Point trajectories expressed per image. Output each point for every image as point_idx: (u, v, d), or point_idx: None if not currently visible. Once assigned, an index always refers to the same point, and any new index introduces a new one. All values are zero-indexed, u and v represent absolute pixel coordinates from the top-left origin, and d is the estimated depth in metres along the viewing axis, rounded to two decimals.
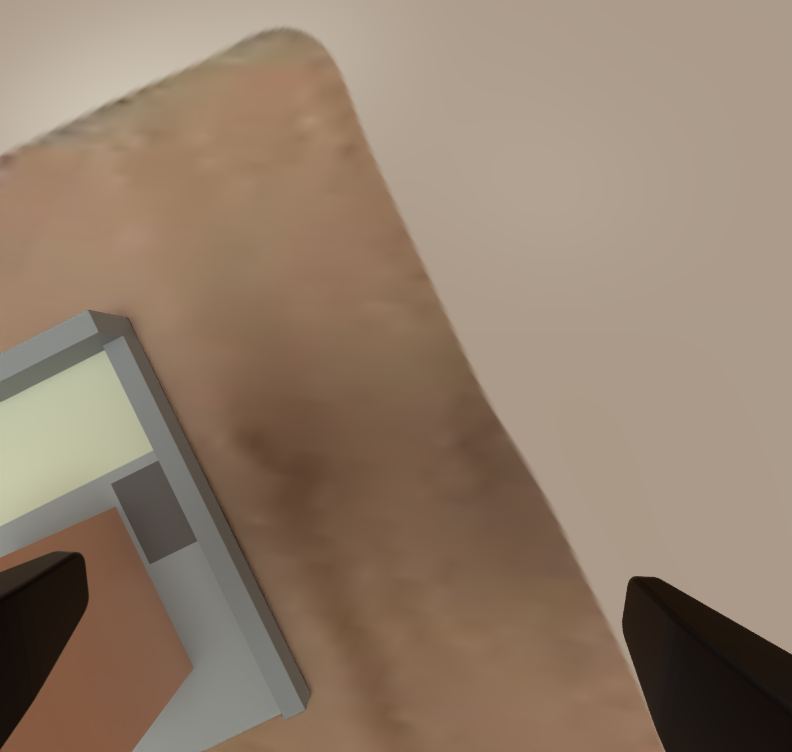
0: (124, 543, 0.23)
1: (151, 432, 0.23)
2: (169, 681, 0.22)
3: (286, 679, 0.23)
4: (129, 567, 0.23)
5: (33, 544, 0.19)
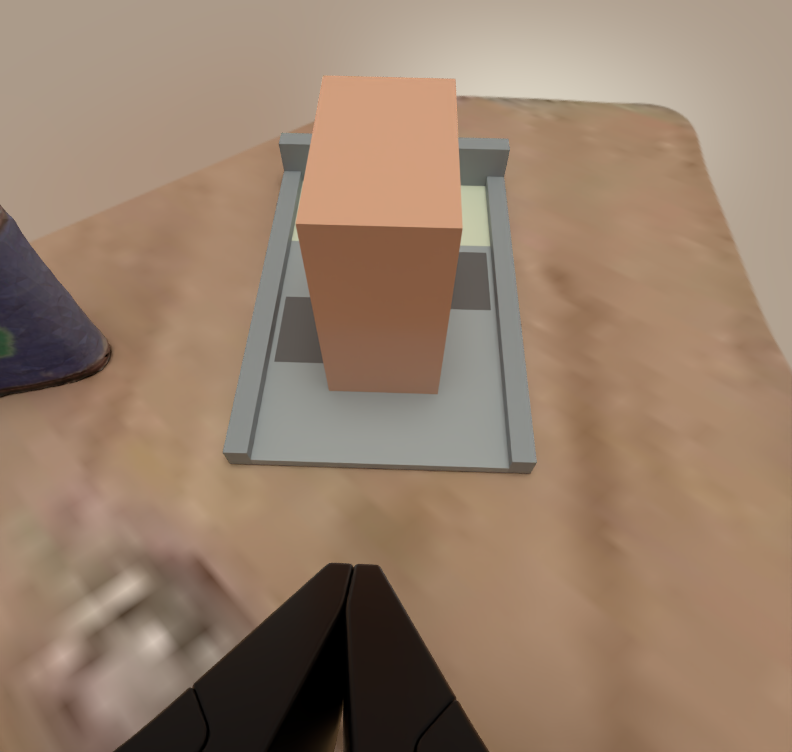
0: None
1: (496, 228, 0.29)
2: None
3: (529, 428, 0.23)
4: None
5: None
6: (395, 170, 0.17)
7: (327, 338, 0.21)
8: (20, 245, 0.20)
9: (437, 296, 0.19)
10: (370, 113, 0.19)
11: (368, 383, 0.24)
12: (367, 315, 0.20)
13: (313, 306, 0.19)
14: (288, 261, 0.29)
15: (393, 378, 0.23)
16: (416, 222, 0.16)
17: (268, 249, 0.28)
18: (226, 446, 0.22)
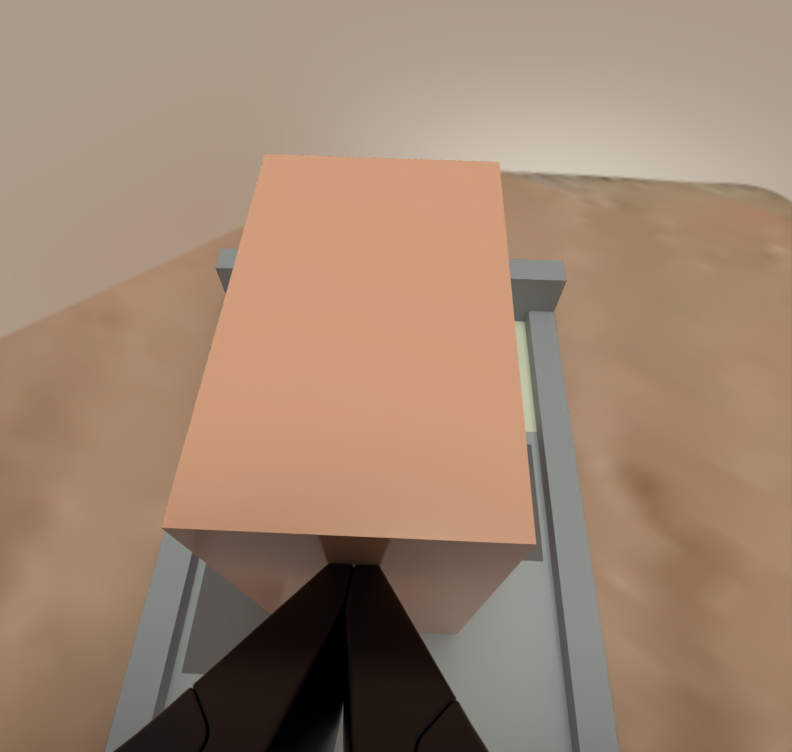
0: None
1: (546, 406, 0.19)
2: None
3: None
4: None
5: None
6: (388, 372, 0.08)
7: (270, 602, 0.12)
8: None
9: (468, 588, 0.10)
10: (344, 233, 0.10)
11: None
12: None
13: (236, 586, 0.10)
14: None
15: None
16: (432, 524, 0.07)
17: None
18: None
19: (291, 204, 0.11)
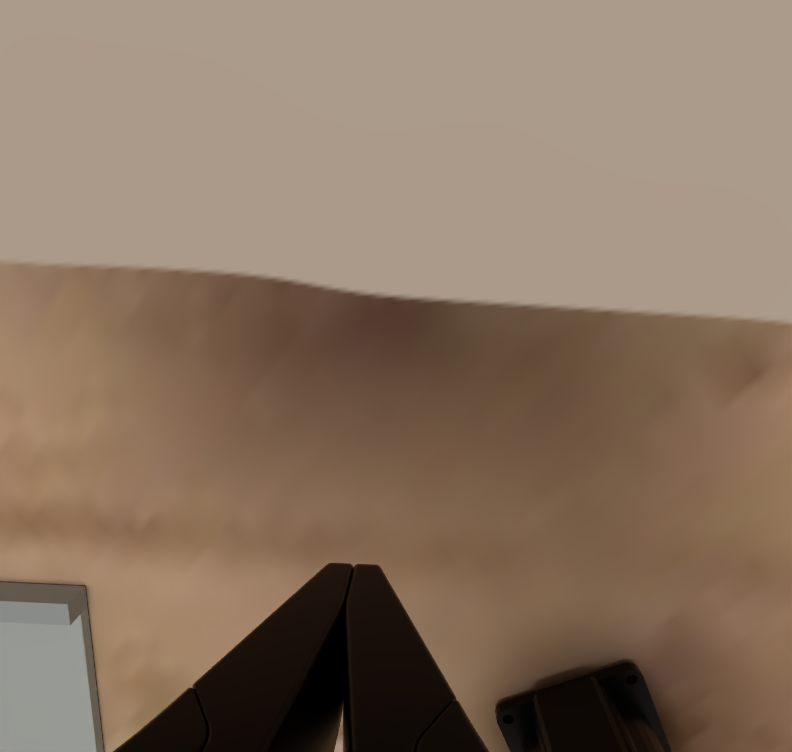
0: None
1: None
2: None
3: (29, 605, 0.22)
4: None
5: None
6: None
7: None
8: None
9: None
10: None
11: None
12: None
13: None
14: None
15: None
16: None
17: None
18: None
19: None
